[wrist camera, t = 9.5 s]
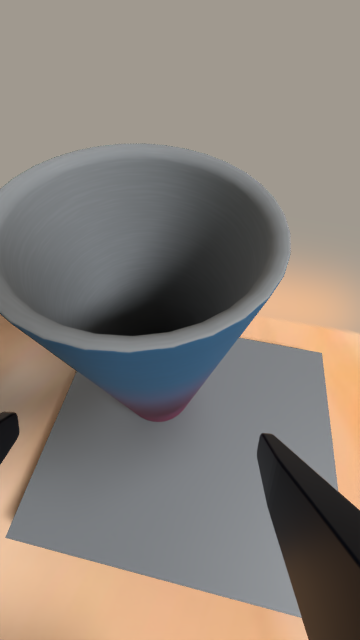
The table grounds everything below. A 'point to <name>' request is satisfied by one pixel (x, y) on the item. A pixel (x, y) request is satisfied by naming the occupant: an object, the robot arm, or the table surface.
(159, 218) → the cup
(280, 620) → the table surface
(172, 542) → the board
